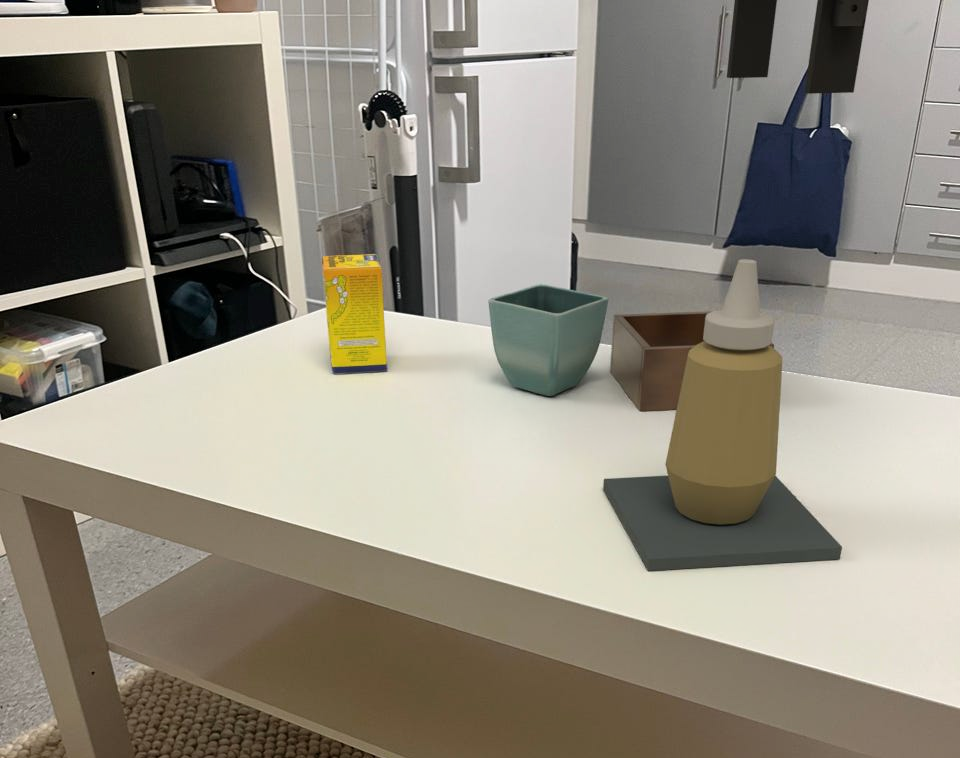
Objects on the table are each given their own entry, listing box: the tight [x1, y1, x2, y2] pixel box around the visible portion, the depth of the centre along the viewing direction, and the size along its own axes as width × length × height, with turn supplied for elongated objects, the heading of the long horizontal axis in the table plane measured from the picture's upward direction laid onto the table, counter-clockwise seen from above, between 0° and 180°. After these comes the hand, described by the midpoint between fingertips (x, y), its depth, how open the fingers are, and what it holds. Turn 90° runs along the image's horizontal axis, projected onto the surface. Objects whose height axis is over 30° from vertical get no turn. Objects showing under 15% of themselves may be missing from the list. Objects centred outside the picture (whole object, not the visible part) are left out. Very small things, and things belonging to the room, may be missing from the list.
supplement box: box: [321, 253, 388, 375], centre depth 107 cm, size 6×6×11 cm
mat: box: [602, 474, 843, 572], centre depth 77 cm, size 14×14×1 cm
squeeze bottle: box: [664, 258, 783, 525], centre depth 72 cm, size 8×8×18 cm
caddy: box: [609, 310, 775, 412], centre depth 102 cm, size 13×13×6 cm
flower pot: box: [487, 283, 609, 397], centre depth 102 cm, size 9×9×9 cm
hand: (784, 85), depth 65 cm, fingers open, 13 cm apart
